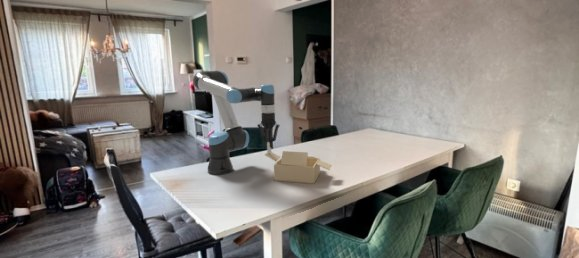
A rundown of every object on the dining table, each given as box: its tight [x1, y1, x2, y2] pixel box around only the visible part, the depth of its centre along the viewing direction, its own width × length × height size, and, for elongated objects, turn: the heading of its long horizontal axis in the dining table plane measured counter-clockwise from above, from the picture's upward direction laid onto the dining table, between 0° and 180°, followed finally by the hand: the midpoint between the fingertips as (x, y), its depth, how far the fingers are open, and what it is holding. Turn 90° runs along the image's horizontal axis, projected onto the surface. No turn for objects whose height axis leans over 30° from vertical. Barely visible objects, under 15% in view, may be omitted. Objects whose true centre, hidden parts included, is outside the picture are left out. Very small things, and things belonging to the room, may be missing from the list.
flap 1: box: [264, 151, 281, 162], centre depth 179 cm, size 8×8×1 cm
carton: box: [273, 157, 321, 185], centre depth 176 cm, size 22×18×9 cm
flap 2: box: [280, 150, 309, 166], centre depth 168 cm, size 14×8×1 cm
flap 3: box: [316, 159, 333, 171], centre depth 172 cm, size 8×8×1 cm
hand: (269, 152), depth 180 cm, fingers closed
